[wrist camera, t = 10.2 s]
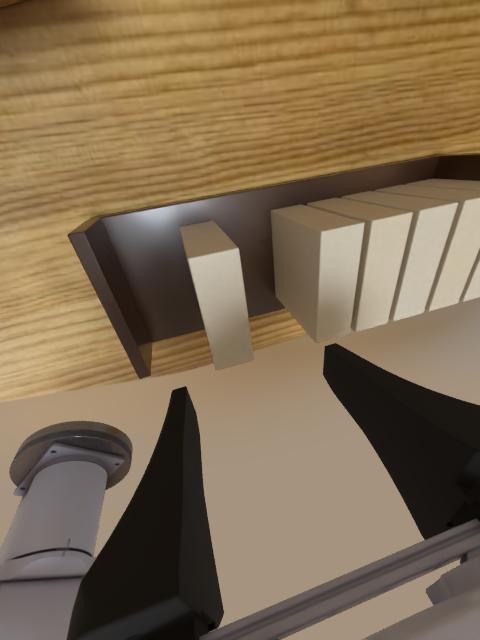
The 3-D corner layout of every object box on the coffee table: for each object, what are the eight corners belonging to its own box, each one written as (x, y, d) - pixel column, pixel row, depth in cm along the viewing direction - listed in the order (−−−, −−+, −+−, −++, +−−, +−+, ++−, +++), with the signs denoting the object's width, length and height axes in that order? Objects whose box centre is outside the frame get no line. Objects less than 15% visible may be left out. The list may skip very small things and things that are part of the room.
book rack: (143, 340, 22) (139, 379, 18) (90, 217, 16) (66, 234, 12) (408, 272, 25) (454, 292, 21) (438, 154, 20) (507, 151, 16)
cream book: (201, 314, 21) (216, 371, 15) (178, 226, 17) (187, 258, 11) (229, 307, 21) (254, 360, 15) (213, 220, 17) (239, 247, 12)
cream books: (275, 296, 22) (316, 343, 16) (270, 210, 18) (321, 231, 12) (411, 262, 24) (491, 294, 18) (432, 178, 20) (542, 183, 14)
